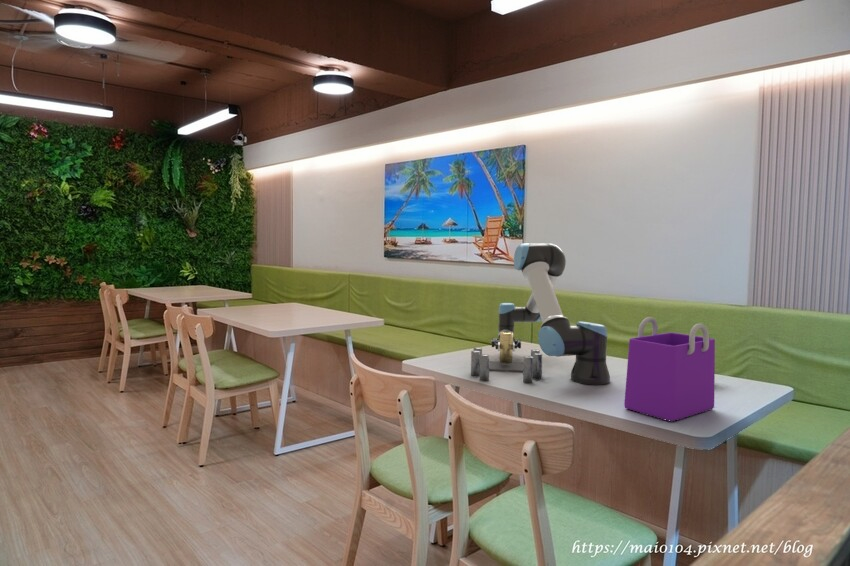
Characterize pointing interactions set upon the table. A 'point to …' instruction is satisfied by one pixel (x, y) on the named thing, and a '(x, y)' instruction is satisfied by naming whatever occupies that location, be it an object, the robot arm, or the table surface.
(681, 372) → the shopping bag
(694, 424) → the table surface
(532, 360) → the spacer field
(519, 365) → the mat
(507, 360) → the brass canister
